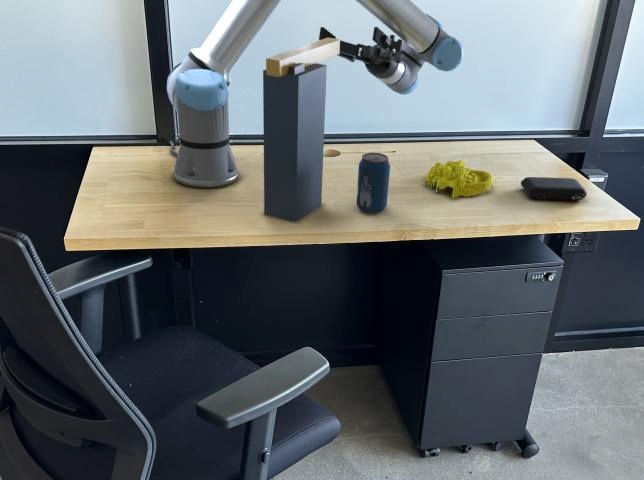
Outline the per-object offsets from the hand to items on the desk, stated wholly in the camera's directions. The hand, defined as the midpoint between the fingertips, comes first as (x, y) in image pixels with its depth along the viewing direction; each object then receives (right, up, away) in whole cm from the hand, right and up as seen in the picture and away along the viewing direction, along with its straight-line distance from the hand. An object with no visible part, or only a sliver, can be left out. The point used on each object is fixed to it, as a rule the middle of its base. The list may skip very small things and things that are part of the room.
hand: (347, 33), depth 166 cm
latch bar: (-9, -13, -15) cm, 22 cm away
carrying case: (+50, -33, +15) cm, 62 cm away
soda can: (+5, -39, +2) cm, 40 cm away
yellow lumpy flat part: (+28, -29, +18) cm, 44 cm away
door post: (-12, -40, 0) cm, 42 cm away
